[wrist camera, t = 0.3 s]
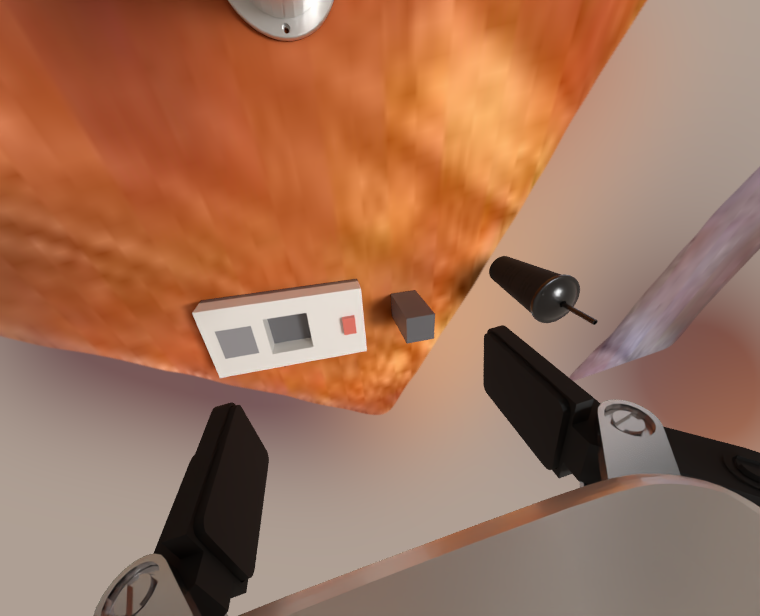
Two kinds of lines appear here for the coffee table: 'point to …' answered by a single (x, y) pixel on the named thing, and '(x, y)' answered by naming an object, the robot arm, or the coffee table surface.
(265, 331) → the power strip
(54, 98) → the coffee table surface
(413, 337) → the plug
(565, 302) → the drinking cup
